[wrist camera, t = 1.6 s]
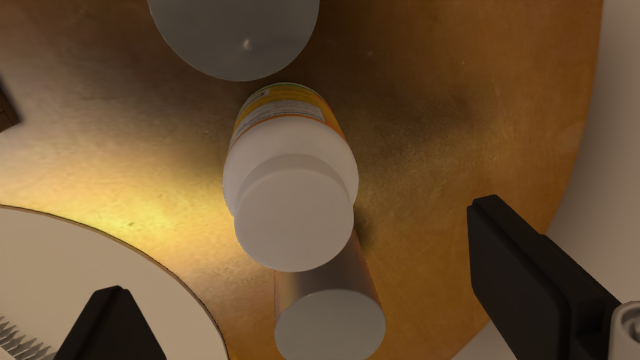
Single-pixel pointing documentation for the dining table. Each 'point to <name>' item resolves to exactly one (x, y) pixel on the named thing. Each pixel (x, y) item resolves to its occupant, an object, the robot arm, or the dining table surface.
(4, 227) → the plate
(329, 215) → the supplement bottle
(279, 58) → the grey jar
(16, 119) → the divided wooden tray
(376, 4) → the dining table surface
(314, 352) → the grey jar
